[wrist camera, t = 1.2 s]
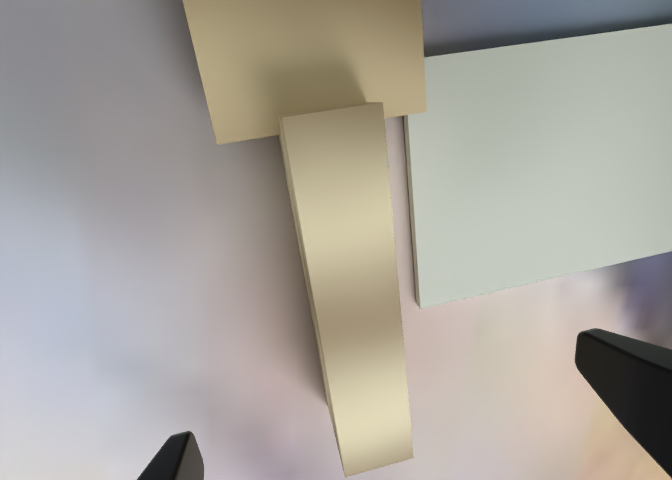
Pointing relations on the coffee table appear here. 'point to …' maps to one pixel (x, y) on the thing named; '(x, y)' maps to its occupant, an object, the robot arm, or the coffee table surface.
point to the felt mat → (540, 161)
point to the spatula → (330, 178)
